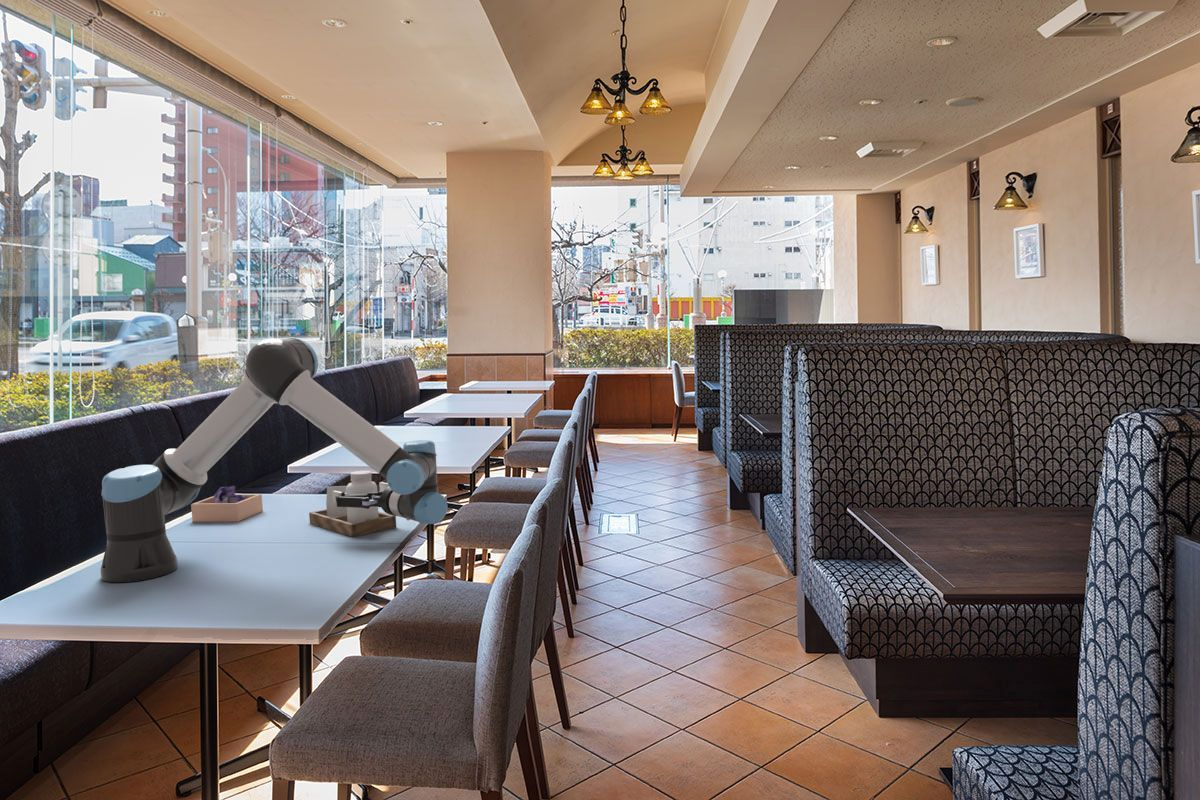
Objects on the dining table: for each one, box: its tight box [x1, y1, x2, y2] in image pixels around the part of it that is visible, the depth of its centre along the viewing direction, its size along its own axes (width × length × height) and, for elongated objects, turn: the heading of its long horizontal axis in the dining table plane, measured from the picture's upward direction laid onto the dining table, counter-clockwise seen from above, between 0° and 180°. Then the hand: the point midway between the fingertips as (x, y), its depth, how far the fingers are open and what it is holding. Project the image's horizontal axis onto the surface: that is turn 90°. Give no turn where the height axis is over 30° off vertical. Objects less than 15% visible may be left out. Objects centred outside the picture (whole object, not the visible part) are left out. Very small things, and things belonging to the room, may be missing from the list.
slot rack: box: [308, 508, 397, 538], centre depth 230 cm, size 24×12×3 cm, turn 44°
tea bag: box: [325, 485, 347, 518], centre depth 234 cm, size 4×7×10 cm, turn 93°
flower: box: [213, 485, 245, 503], centre depth 248 cm, size 9×9×10 cm
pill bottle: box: [346, 470, 379, 524], centre depth 225 cm, size 8×8×15 cm
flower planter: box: [190, 493, 264, 523], centre depth 247 cm, size 13×14×5 cm
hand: (357, 491), depth 226 cm, fingers open, 13 cm apart
